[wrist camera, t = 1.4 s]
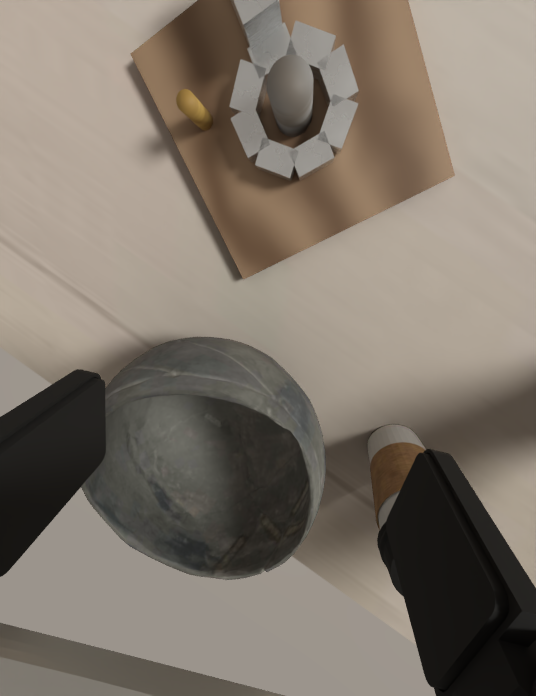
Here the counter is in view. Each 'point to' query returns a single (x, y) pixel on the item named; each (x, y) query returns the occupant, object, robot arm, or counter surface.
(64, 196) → the counter surface
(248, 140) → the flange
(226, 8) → the post base
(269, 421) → the bowl
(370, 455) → the coffee cup
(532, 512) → the counter surface
